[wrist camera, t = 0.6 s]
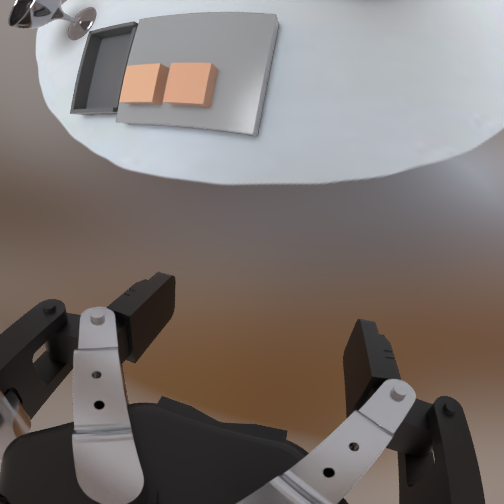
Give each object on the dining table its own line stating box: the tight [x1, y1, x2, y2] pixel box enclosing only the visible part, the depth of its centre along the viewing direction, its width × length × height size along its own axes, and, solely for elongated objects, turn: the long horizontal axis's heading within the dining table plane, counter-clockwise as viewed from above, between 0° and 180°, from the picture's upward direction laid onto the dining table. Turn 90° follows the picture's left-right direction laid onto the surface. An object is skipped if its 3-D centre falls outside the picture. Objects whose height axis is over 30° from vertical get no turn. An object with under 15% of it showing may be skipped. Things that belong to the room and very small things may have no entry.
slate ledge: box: [116, 12, 279, 136], centre depth 30 cm, size 16×19×3 cm
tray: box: [70, 22, 138, 115], centre depth 31 cm, size 14×9×4 cm, turn 170°
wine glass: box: [8, 0, 96, 40], centre depth 23 cm, size 8×8×15 cm
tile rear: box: [119, 63, 169, 105], centre depth 29 cm, size 5×5×2 cm
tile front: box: [163, 63, 218, 108], centre depth 28 cm, size 5×5×2 cm
